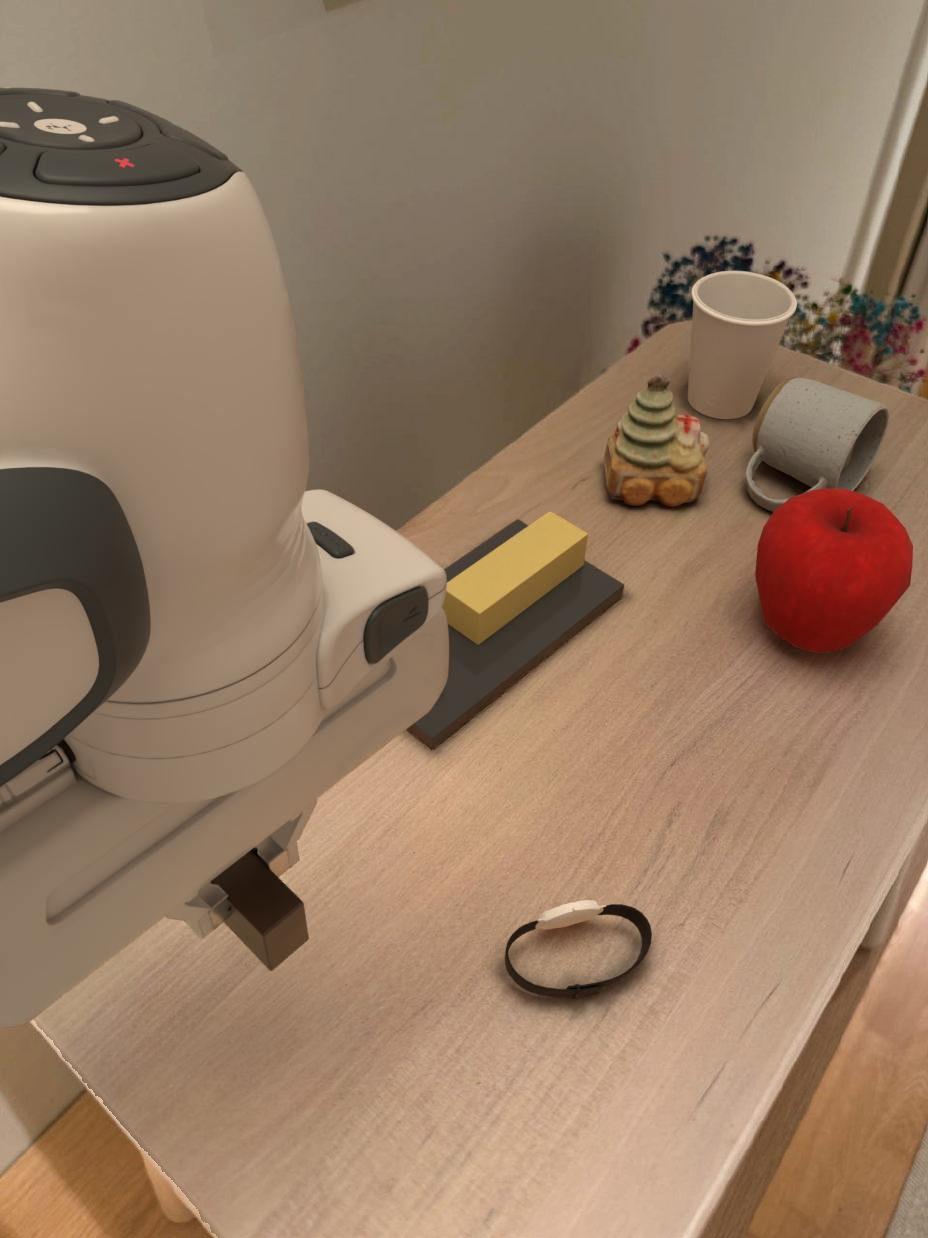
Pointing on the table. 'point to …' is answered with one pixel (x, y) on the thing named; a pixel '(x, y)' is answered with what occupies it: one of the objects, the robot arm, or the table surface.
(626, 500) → the ornament
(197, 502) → the robot arm
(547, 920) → the watch
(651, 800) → the table surface
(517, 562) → the butter block
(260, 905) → the dark brown boxy part
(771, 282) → the dixie cup
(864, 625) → the apple
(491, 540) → the butter dish
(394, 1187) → the table surface
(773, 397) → the ceramic mug
